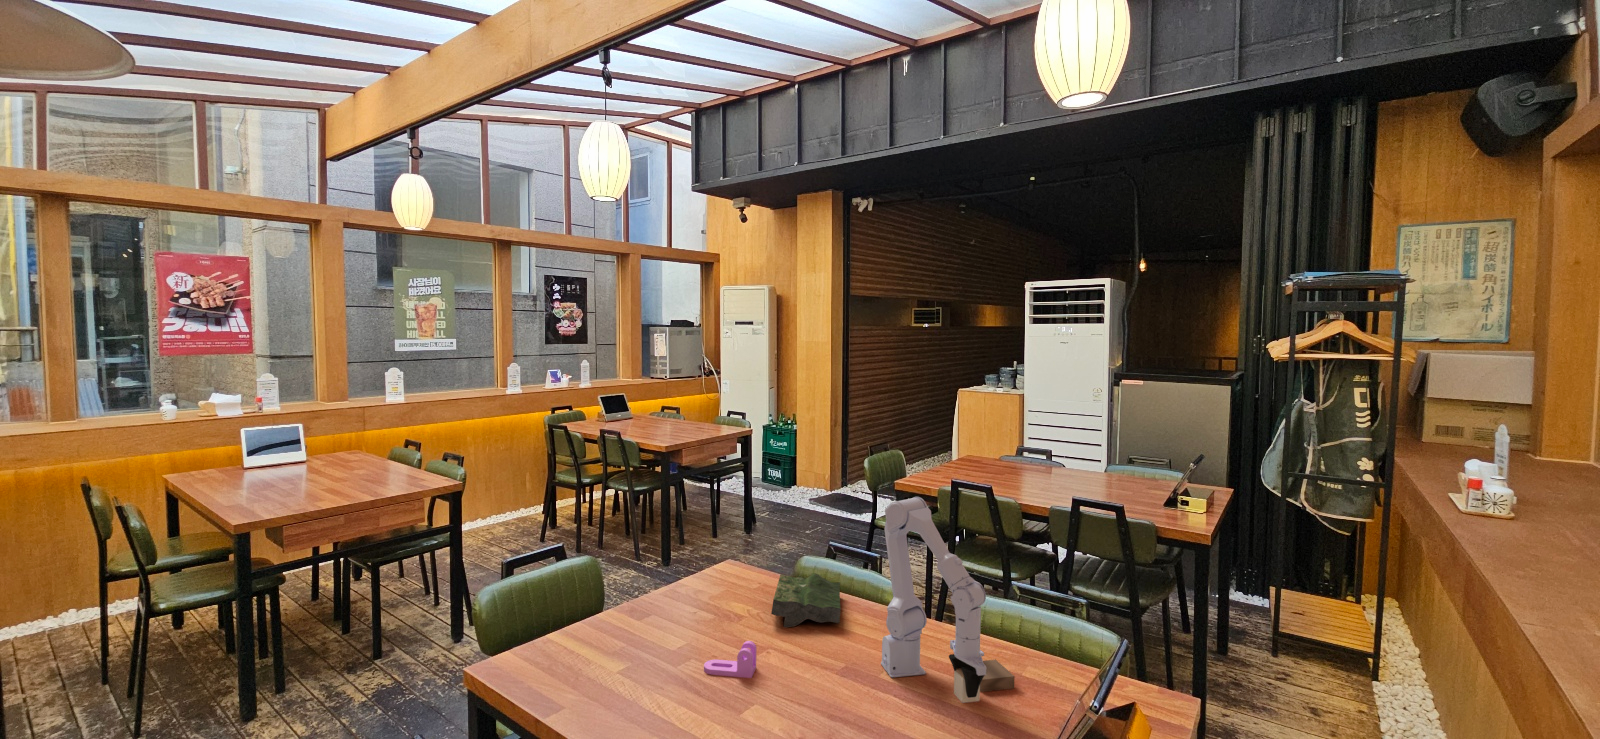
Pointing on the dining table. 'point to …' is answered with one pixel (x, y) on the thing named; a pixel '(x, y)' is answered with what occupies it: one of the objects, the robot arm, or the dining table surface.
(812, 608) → the landscape model
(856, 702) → the dining table surface
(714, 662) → the bracket
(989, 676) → the block
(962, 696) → the cream cardboard box
